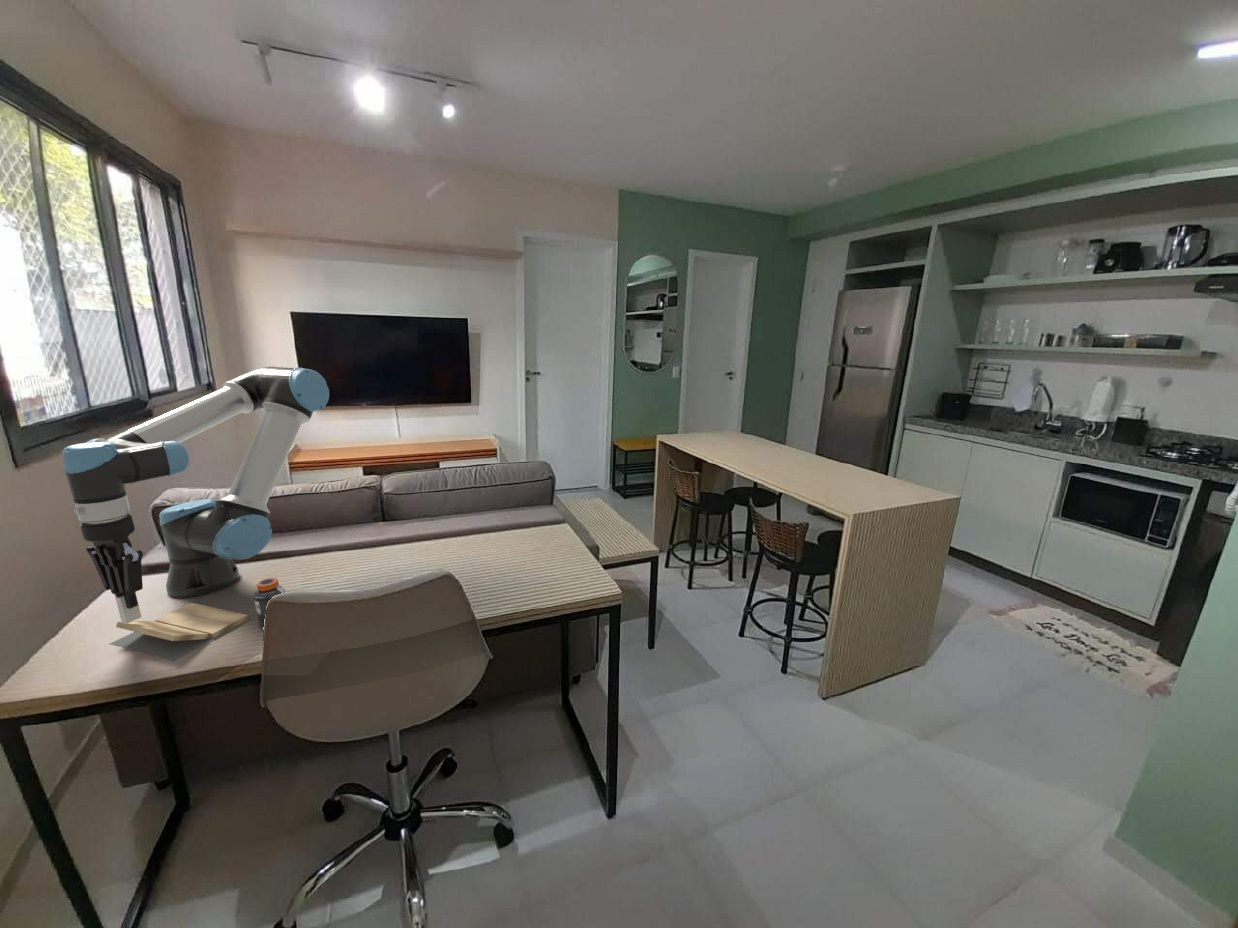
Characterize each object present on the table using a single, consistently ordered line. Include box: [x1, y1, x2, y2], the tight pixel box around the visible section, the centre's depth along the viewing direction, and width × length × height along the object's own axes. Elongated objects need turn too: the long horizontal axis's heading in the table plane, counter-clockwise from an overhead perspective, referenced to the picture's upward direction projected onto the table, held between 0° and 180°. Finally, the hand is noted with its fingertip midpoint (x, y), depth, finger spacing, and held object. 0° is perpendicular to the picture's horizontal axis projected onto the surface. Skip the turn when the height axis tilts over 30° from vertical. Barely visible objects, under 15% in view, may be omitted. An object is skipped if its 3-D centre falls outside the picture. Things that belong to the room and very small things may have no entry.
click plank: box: [115, 620, 210, 641], centre depth 108 cm, size 8×17×1 cm, turn 74°
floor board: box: [154, 602, 249, 639], centre depth 115 cm, size 8×18×1 cm, turn 74°
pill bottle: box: [253, 577, 286, 631], centre depth 114 cm, size 6×6×11 cm
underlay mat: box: [109, 615, 254, 661], centre depth 113 cm, size 17×20×1 cm
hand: (131, 619), depth 107 cm, fingers closed
